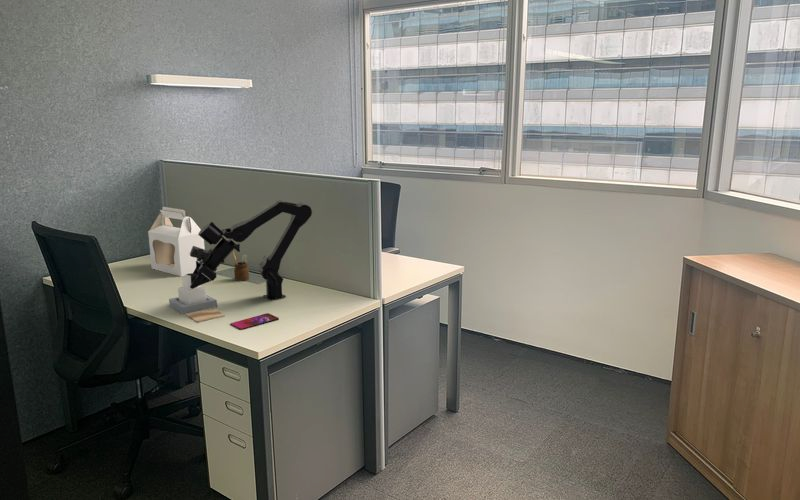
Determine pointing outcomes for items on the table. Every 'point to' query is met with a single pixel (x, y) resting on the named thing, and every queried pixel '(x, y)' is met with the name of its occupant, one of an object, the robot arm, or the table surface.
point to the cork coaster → (205, 315)
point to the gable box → (174, 242)
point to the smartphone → (254, 321)
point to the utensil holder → (241, 270)
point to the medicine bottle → (191, 291)
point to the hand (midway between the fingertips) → (190, 284)
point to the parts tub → (192, 305)
